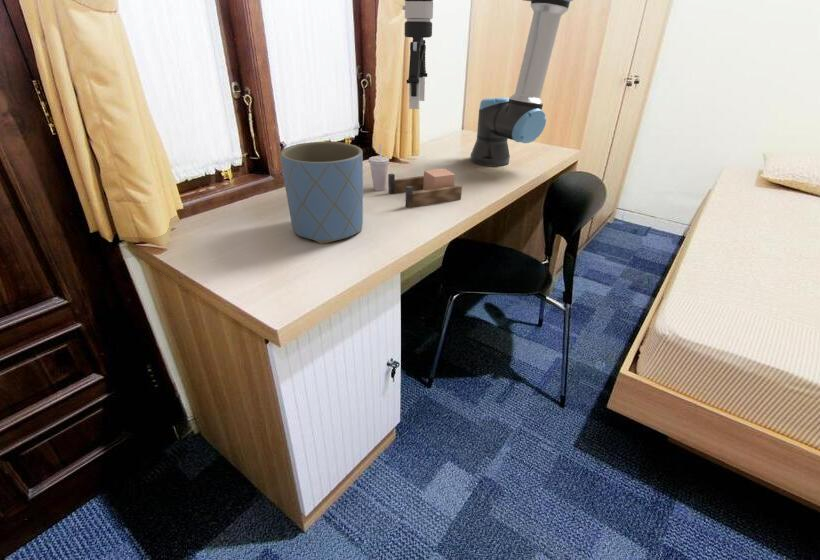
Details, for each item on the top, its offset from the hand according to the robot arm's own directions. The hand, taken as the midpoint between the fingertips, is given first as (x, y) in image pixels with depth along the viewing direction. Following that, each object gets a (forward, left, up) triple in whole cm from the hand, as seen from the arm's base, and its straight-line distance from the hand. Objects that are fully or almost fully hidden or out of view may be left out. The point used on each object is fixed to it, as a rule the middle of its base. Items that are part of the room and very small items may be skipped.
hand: (417, 104), depth 128 cm
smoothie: (+11, -4, -26) cm, 28 cm away
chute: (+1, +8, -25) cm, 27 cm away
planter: (+35, +20, -26) cm, 48 cm away
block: (-4, +8, -26) cm, 27 cm away
